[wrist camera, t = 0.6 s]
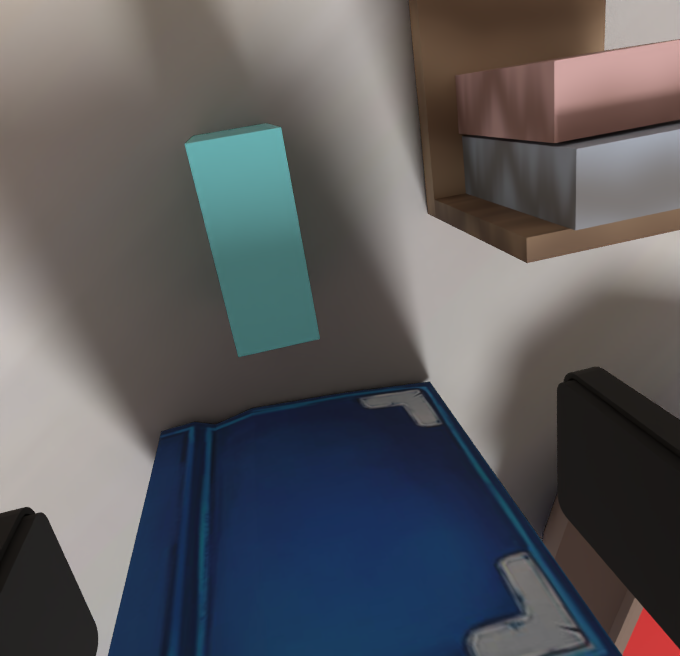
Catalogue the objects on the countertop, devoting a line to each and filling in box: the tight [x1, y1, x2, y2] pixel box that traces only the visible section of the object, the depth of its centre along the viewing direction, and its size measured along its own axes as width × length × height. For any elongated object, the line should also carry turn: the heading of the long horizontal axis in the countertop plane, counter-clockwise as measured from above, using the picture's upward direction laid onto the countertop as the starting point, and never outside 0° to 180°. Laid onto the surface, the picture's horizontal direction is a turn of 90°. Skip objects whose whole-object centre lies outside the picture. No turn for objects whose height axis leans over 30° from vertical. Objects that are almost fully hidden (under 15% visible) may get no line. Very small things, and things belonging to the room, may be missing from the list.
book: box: [108, 382, 623, 656], centre depth 31 cm, size 22×7×25 cm, turn 94°
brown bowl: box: [543, 492, 680, 656], centre depth 45 cm, size 24×24×16 cm
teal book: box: [185, 123, 320, 357], centre depth 32 cm, size 11×4×9 cm, turn 9°
